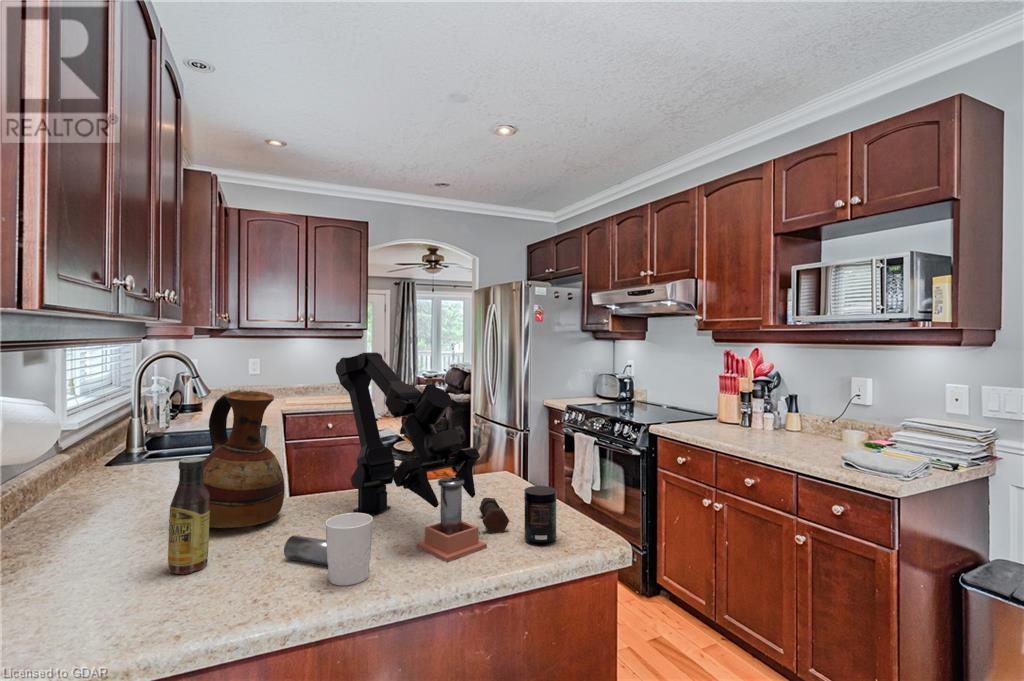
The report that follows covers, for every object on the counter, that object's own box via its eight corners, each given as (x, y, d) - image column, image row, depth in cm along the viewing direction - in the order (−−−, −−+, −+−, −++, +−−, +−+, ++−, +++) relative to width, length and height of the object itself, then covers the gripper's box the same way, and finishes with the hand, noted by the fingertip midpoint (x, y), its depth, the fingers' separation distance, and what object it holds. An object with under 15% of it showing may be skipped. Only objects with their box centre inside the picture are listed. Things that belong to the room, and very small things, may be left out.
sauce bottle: (159, 573, 91) (159, 461, 91) (192, 559, 97) (192, 454, 97) (185, 578, 89) (186, 464, 89) (217, 564, 95) (218, 456, 95)
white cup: (326, 591, 85) (327, 530, 85) (323, 571, 92) (324, 515, 92) (375, 582, 88) (375, 524, 88) (369, 564, 95) (369, 510, 95)
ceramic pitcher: (235, 544, 104) (235, 396, 104) (163, 531, 111) (164, 393, 111) (303, 513, 123) (304, 388, 123) (238, 504, 129) (239, 386, 130)
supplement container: (553, 533, 111) (553, 485, 111) (559, 546, 104) (559, 494, 104) (522, 534, 110) (522, 486, 110) (526, 547, 103) (526, 495, 103)
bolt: (490, 518, 126) (499, 539, 111) (472, 509, 125) (479, 529, 110) (501, 497, 126) (512, 515, 112) (484, 487, 126) (492, 504, 111)
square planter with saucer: (416, 547, 103) (416, 527, 103) (455, 534, 110) (455, 515, 110) (446, 562, 96) (446, 540, 96) (486, 547, 103) (486, 527, 103)
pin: (302, 542, 101) (291, 562, 98) (292, 531, 98) (280, 552, 95) (354, 550, 97) (344, 571, 94) (345, 538, 95) (334, 561, 92)
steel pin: (434, 547, 101) (434, 483, 101) (443, 537, 106) (443, 476, 106) (459, 549, 100) (459, 484, 100) (467, 539, 105) (467, 478, 105)
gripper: (401, 418, 99) (434, 487, 91) (474, 410, 112) (509, 469, 105) (380, 453, 105) (409, 520, 97) (452, 441, 118) (484, 499, 110)
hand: (456, 501), depth 102 cm, fingers open, 9 cm apart
